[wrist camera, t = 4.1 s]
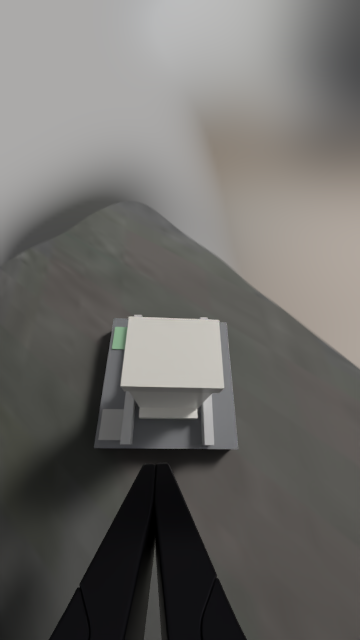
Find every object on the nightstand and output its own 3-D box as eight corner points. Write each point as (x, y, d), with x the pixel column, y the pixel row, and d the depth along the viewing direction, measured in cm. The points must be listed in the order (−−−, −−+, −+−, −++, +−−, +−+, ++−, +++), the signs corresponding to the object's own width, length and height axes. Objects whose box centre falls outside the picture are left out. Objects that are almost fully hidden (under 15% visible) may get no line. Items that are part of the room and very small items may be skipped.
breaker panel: (231, 448, 15) (243, 449, 12) (100, 447, 14) (88, 448, 12) (222, 331, 18) (230, 315, 16) (117, 327, 18) (111, 311, 16)
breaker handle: (195, 419, 14) (225, 398, 7) (140, 418, 14) (119, 396, 7) (194, 368, 15) (218, 312, 9) (144, 367, 15) (129, 309, 8)
